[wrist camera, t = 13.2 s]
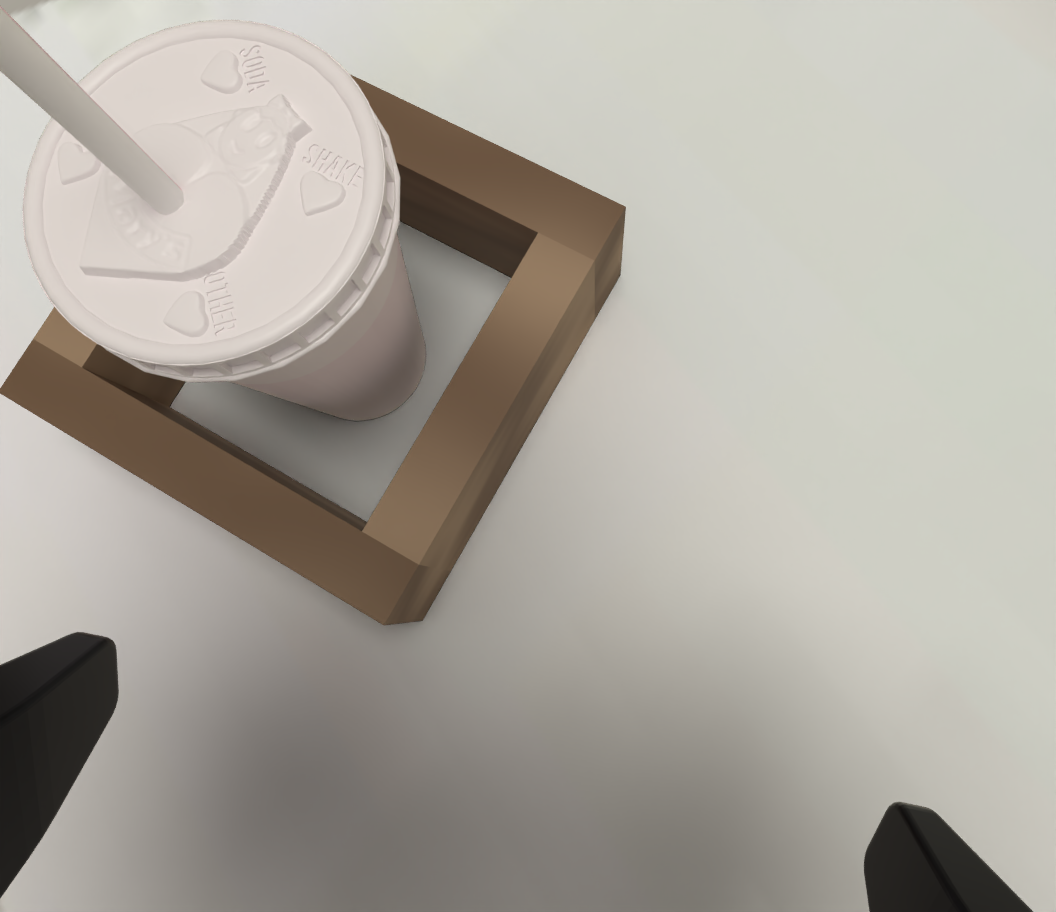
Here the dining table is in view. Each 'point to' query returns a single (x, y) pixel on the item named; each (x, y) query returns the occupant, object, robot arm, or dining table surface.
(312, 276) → the smoothie
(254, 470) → the socket block
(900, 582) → the dining table surface
